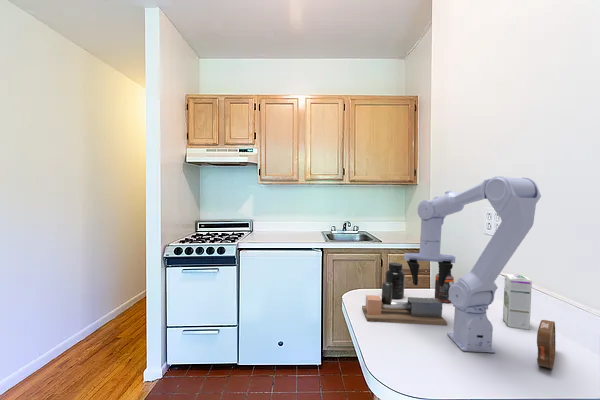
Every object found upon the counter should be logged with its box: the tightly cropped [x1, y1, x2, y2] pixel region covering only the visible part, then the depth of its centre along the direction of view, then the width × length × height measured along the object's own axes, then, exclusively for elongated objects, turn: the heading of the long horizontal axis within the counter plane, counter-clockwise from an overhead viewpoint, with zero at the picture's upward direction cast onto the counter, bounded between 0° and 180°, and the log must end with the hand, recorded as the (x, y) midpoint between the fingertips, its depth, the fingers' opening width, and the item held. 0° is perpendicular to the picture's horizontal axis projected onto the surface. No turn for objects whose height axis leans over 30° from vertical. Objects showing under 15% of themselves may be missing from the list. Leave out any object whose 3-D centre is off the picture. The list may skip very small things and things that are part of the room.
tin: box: [536, 319, 556, 370], centre depth 77 cm, size 15×3×8 cm, turn 139°
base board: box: [362, 305, 448, 326], centre depth 100 cm, size 10×23×1 cm, turn 87°
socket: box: [364, 294, 382, 315], centre depth 100 cm, size 4×4×4 cm
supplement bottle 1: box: [384, 262, 406, 300], centre depth 119 cm, size 7×7×12 cm
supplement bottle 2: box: [434, 269, 455, 304], centre depth 116 cm, size 6×6×11 cm
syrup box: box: [502, 273, 533, 331], centre depth 97 cm, size 6×6×14 cm
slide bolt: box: [381, 281, 411, 311], centre depth 100 cm, size 3×13×8 cm, turn 87°
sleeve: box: [407, 296, 443, 318], centre depth 100 cm, size 4×9×4 cm, turn 87°
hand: (427, 285), depth 99 cm, fingers open, 7 cm apart
